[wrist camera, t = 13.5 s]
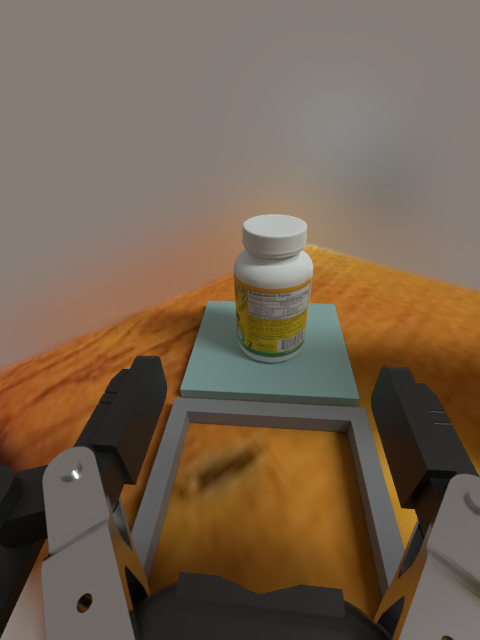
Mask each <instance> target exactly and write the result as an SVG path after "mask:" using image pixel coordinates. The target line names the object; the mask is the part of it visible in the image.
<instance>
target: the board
mask: <svg viewBox="0 0 480 640" xmlns="http://www.w3.org/2000/svg"><path fill="white" fill-rule="evenodd" d="M180 391H181V395H182V397H193V398H211V399H230V400H248V401H267V402H286V403H304V404H323V405H341V406H358V403H359V400H360V398H359V394H358V390H357V386H356V383H355V379H354V375H353V372H352V368H351V364H350V361H349V357H348V353H347V349H346V346H345V342H344V338H343V335H342V331H341V327H340V324H339V320H338V316H337V312H336V309H335V305H334V304H318V303H309V307H308V315H307V324H306V332H305V340H304V345H303V347H302V349H301V351H300V352H299V353H298V354H297V355H296V356H294V357H293V358H291V359H289V360H286V361H283V362H277V363H268V362H262V361H258V360H255V359H253V358H251V357H249V356H248V355H247V354H245V353H244V351H243V350H242V349H241V347H240V345H239V343H238V338H237V321H236V302H231V301H208V303H207V306H206V309H205V313H204V316H203V319H202V322H201V325H200V328H199V331H198V335H197V338H196V341H195V344H194V347H193V350H192V354H191V357H190V360H189V363H188V366H187V369H186V372H185V376H184V379H183V382H182V385H181V388H180Z"/></svg>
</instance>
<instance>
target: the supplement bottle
mask: <svg viewBox="0 0 480 640" xmlns="http://www.w3.org/2000/svg"><path fill="white" fill-rule="evenodd" d="M306 235H307V225H306V223H305V222H304V221H303V220H301V219H298V218H296V217H292V216H288V215H277V214H276V215H275V214H272V215H261V216H256V217H252V218H250V219H248V220H246V221H245V222H244V224H243V240H242V241H243V245H244V247H245V250H244V251H242V252H241V253H240V254H239V255H238V257H237V258H236V261H235V263H234V282H235V301H236V321H237V338H238V343H239V345H240V347H241V349H242V350H243V351H244V353H245V354H247V355H248V356H249V357H251V358H253V359H255V360H258V361H262V362H268V363H277V362H283V361H286V360H289V359H291V358H293V357H294V356H296V355H297V354H298V353H299V352H300V351H301V349H302V347H303V345H304V340H305V332H306V324H307V315H308V307H309V299H310V291H311V283H312V275H313V263H312V261H311V259H310V257H309V256H308V254H307V253H306V252H304V251H303V249H304V247H305V245H306Z"/></svg>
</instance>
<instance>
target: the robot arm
mask: <svg viewBox="0 0 480 640" xmlns="http://www.w3.org/2000/svg"><path fill="white" fill-rule="evenodd" d="M166 394H167V383H166V379H165V375H164V371H163V368H162V364H161V360H160V358H159V357H158V356H137V357H136V358H135V360H134V362H133V364H132V366H131V368H130V369H122V370H121V371H120V372H119V373H118V374H117V375H116V376H115V377H113V378H112V379H111V381H110V383H109V385H108V387H107V388H106V390H105V394H103V395H102V397H101V399H100V401H99V404H97V406H96V408H95V410H94V412H93V413H92V415H91V417H90V419H89V420H88V422H87V424H86V426H85V428H84V429H83V431H82V433H81V435H80V437H79V438H78V440H77V442H76V443H75V445H74V446H73V447H72V448H70V449H67V450H65V451H64V452H62V453H60V454H59V455H58V456H56V457H55V458H54V459H53V460H52V461H51V462H50V464H48V465H45V466H41V467H37V468H33V469H29V470H25V471H21V472H16V473H14V472H13V471H12V469H11V468H9V467H8V466H6V465H0V638H1V636H2V634H3V631H4V629H5V627H6V625H7V623H8V620H9V618H10V616H11V614H12V612H13V609H14V607H15V605H16V603H17V601H18V599H19V596H20V594H21V592H22V590H23V588H24V585H25V583H26V581H27V579H28V577H29V574H30V572H31V570H32V568H33V566H34V564H35V561H36V559H37V557H38V555H39V553H40V550H41V548H42V546H43V544H44V542H45V539H46V538H48V543H49V553H48V556H47V557H46V558H44V560H43V562H42V567H41V581H42V594H43V607H44V620H45V633H46V640H480V476H479V475H478V473H477V472H476V470H475V468H474V466H473V464H472V462H471V460H470V458H469V457H468V455H467V453H466V451H465V449H464V447H463V445H462V443H461V441H460V439H459V437H458V436H457V434H456V432H455V430H454V428H453V426H452V425H451V424H450V423H451V422H450V420H449V418H448V416H447V415H446V413H444V409H443V407H442V405H441V403H440V401H439V399H438V397H437V396H436V395H435V394H434V393H433V392H432V391H431V390H430V389H429V388H428V387H427V386H426V385H425V384H423V383H415V380H414V378H413V376H412V374H411V372H410V370H409V369H408V368H406V367H386V366H384V367H382V368H381V370H380V373H379V376H378V379H377V382H376V384H375V387H374V390H373V393H372V398H371V406H372V412H373V415H374V419H375V422H376V425H377V428H378V432H379V435H380V438H381V442H382V445H383V448H384V452H385V455H386V458H387V462H388V465H389V468H390V472H391V475H392V478H393V482H394V485H395V488H396V492H397V495H398V498H399V502H400V505H401V508H406V509H415V512H416V515H417V518H418V521H417V523H416V525H415V527H414V530H413V532H412V535H411V537H410V540H409V542H408V544H407V547H406V549H405V552H404V554H403V557H402V559H401V562H400V564H399V567H398V569H397V572H396V574H395V577H394V579H393V581H392V583H391V585H390V587H389V588H388V590H387V592H386V593H385V595H384V597H383V599H382V601H381V604H380V606H379V608H378V611H377V613H376V615H375V618H374V620H372V619H371V618H370V617H369V616H368V615H366V614H365V613H364V612H362V611H361V610H360V609H358V608H357V607H355V606H354V605H352V604H350V603H349V602H346V601H344V600H343V594H342V589H334V588H325V587H316V586H307V585H298V586H294V587H290V588H285V589H281V590H277V591H273V592H269V593H264V594H256V593H253V592H251V591H249V590H247V589H245V588H243V587H241V586H239V585H236V584H234V583H232V582H230V581H228V580H226V579H224V578H222V577H219V576H214V575H205V574H195V573H186V572H180V575H179V580H178V582H175V583H172V584H169V585H167V586H164V587H162V588H161V589H159V590H157V591H155V592H154V593H152V594H151V593H150V589H149V586H148V582H147V579H146V576H145V573H144V571H143V568H142V565H141V563H140V561H139V559H138V556H137V553H136V550H135V547H134V543H133V540H132V536H131V533H130V530H129V526H128V523H127V519H126V516H125V512H124V509H123V505H122V502H121V498H120V494H121V491H122V488H123V486H124V484H131V485H135V484H136V482H137V479H138V476H139V473H140V470H141V467H142V464H143V462H144V459H145V456H146V453H147V450H148V447H149V445H150V442H151V439H152V436H153V433H154V430H155V428H156V425H157V422H158V419H159V416H160V413H161V410H162V408H163V405H164V402H165V399H166Z"/></svg>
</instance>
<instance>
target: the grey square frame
mask: <svg viewBox="0 0 480 640" xmlns="http://www.w3.org/2000/svg"><path fill="white" fill-rule="evenodd" d="M189 422H190V423H206V424H222V425H239V426H255V427H271V428H287V429H303V430H319V431H336V432H348V437H349V442H350V446H351V451H352V456H353V461H354V466H355V470H356V475H357V480H358V485H359V490H360V494H361V499H362V504H363V509H364V514H365V518H366V523H367V528H368V533H369V538H370V542H371V547H372V552H373V557H374V562H375V566H376V571H377V576H378V581H379V586H380V590H381V595H382V599H383V597H384V595H385V593H386V592H387V590H388V588H389V587H390V585H391V583H392V581H393V579H394V577H395V574H396V572H397V569H398V567H399V564H400V562H401V559H402V557H403V554H404V552H405V551H404V548H403V544H402V540H401V537H400V533H399V530H398V526H397V522H396V519H395V515H394V512H393V508H392V504H391V501H390V497H389V494H388V490H387V486H386V483H385V479H384V476H383V472H382V468H381V465H380V461H379V458H378V454H377V450H376V447H375V443H374V440H373V436H372V432H371V429H370V425H369V422H368V418H367V414H366V411H365V408H362V407H344V406H325V405H307V404H288V403H270V402H251V401H233V400H214V399H196V398H177V397H175V400H174V403H173V406H172V409H171V412H170V416H169V419H168V422H167V425H166V428H165V431H164V434H163V437H162V440H161V443H160V446H159V449H158V453H157V456H156V459H155V462H154V465H153V468H152V471H151V474H150V477H149V480H148V483H147V487H146V490H145V493H144V496H143V499H142V502H141V505H140V508H139V511H138V514H137V517H136V520H135V524H134V527H133V530H132V533H131V536H132V540H133V543H134V547H135V550H136V553H137V556H138V559H139V561H140V563H141V565H142V568H143V571H144V573H145V576H146V579H147V582H148V581H149V577H150V573H151V569H152V565H153V561H154V558H155V554H156V550H157V546H158V542H159V538H160V534H161V530H162V527H163V523H164V519H165V515H166V511H167V507H168V503H169V499H170V496H171V492H172V488H173V484H174V480H175V476H176V472H177V468H178V465H179V461H180V457H181V453H182V449H183V445H184V441H185V437H186V434H187V430H188V426H189Z"/></svg>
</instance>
